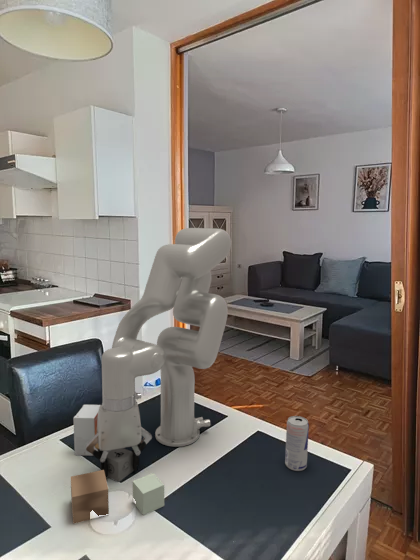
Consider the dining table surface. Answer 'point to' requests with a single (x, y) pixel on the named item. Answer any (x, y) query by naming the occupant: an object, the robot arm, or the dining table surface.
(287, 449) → the energy drink
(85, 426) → the small box
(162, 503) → the sage block
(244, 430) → the dining table surface
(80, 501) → the walnut block
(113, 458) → the dice cube
